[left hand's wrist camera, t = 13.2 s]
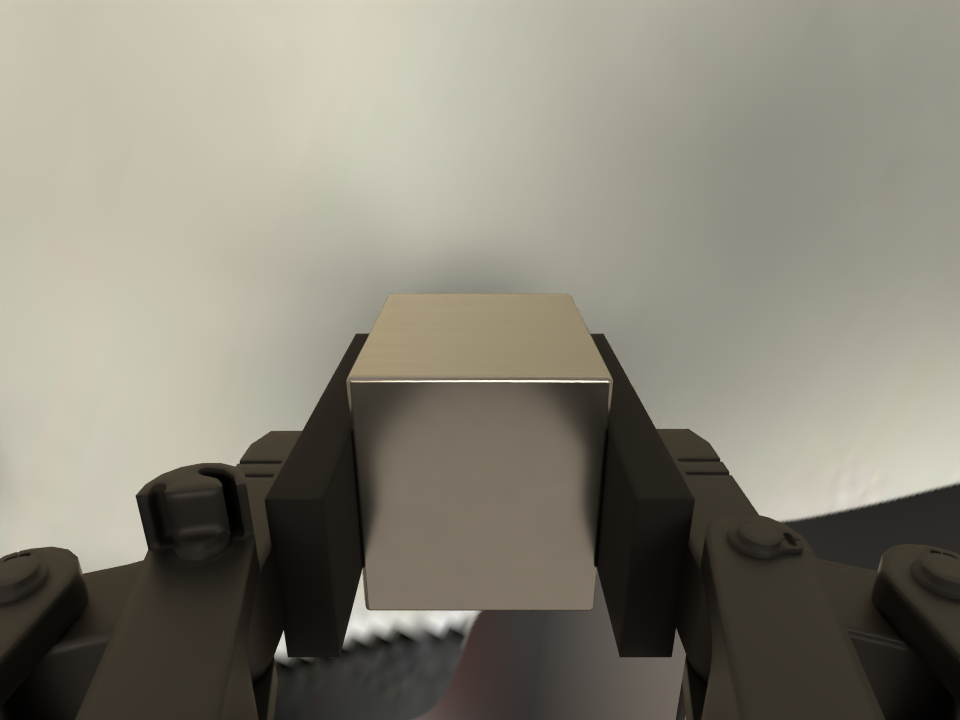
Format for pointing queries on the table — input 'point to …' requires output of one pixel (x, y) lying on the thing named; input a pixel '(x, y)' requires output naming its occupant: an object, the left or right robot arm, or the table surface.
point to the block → (479, 453)
